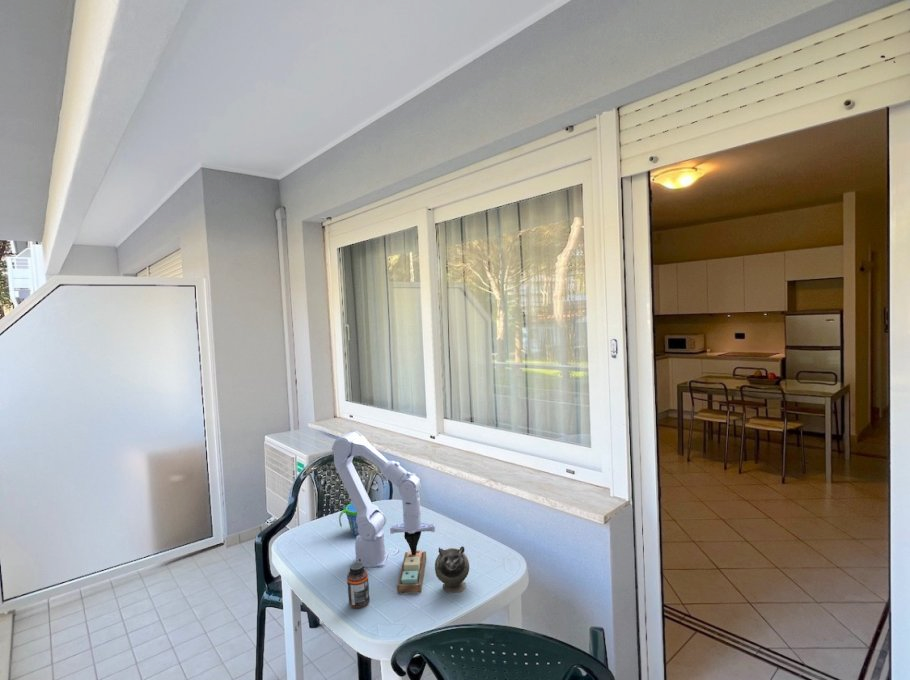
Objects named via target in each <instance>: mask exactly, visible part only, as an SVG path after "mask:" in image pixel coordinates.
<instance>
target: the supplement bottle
mask: <svg viewBox="0 0 910 680" xmlns="http://www.w3.org/2000/svg"><path fill="white" fill-rule="evenodd" d="M346 582H347V583H346V584H347V593H348V595H347V596H348V605H349V606H350V607H351V608H352V609H361V608H364V607H366V606H367V605H368V604H369V603H370V597H371V596H370V586H369V585H370V584H369V573H368V570H367V569H366V568H365V567H364V564H363V563H362V562H356V561H355V562H352V563H351V564H350V565H349V571H348V573H347V575H346Z"/></svg>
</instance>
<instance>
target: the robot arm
mask: <svg viewBox="0 0 910 680" xmlns="http://www.w3.org/2000/svg"><path fill="white" fill-rule="evenodd" d="M331 450H332V452H333V464H334V466H335V469H336V471H337V473H338V476H339V477H340V478H339V479H340V480H341V481H342V484H343V486H344V488H345V490H346V493H347V495H348V496H349V498H350V500H351V503H353V505H354V507H355V509H356V511H357V517H356V523H357V525H358V533H359V535H358V536H356V538H355V543H354V545H355V548H354V549H355V562H362V563H363V564H364V568H370V567H371V568H372V567H373V568H374V567H385V565H386V561H387V560H388V555H389V552H386V547H385V535H384V534H385V532H384V526H385V525H386V523H387V518H386V515H385V514H384V513H383V512H382V511H381V510H379V509H380V507H379V506H378V505H376V504H375V505H374V503H373V502H372V500H371V498H370V497H369V494H368V492H367V491H366V489H365V486H364V485H363V482H362V480H361V478H360V476H359V473H358V472H357V470H356V468H355V466H354V463H353V459H354V457H357V456H361V457H364V458H365V459H367V460H368V461H370V462H371V463H372V464H374V465H375V466H376V467H378V469H380V470H381V473H382V476H384V477H385V478H386V479H387V480H388V481H389V482H390V483H392V484H393V485H394V486H396V487H397V489H398V492H399V494H400V495H401V497H402V501H401V502H402V518H403V523H399V524H392V525H390V527H389V528H390V529H389V530H390V535H391V534H395V533H404V535H403V536H404V539H405V541H406V542H407V544H408V546H409V548H410V551H411V553H412V555H416V552H417V550H418V549H417V548H418V544H419V541H420V538H421V535H422V532H423V533H424V532H431V533H435V532H436V524H435V523H427V522H422V513H421V512H422V511H421V498H420V489H421V486H422V479H421V478H420V477H419V475H418V474H417V473H411V472H410V471H408V470H407V469H405V468H403V466H401V463H400V462H399V461H394V460H388V459H387V458H386V457H385V456H384V455H382V453H381V452H379V450H377V449H376V448H375V447H374V446H373V445H372V444H371V443H369V442H368V439H367V438H366V437H365V436H364V435H362V434H361V433H360V432H359V431H357V430H350V431H349V432H347V433H346V434H344V435H342V436H340V437H337V438H336V439H335V441H334V442H333V445H332V447H331ZM371 502H372V503H373V504H372V503H371Z"/></svg>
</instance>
